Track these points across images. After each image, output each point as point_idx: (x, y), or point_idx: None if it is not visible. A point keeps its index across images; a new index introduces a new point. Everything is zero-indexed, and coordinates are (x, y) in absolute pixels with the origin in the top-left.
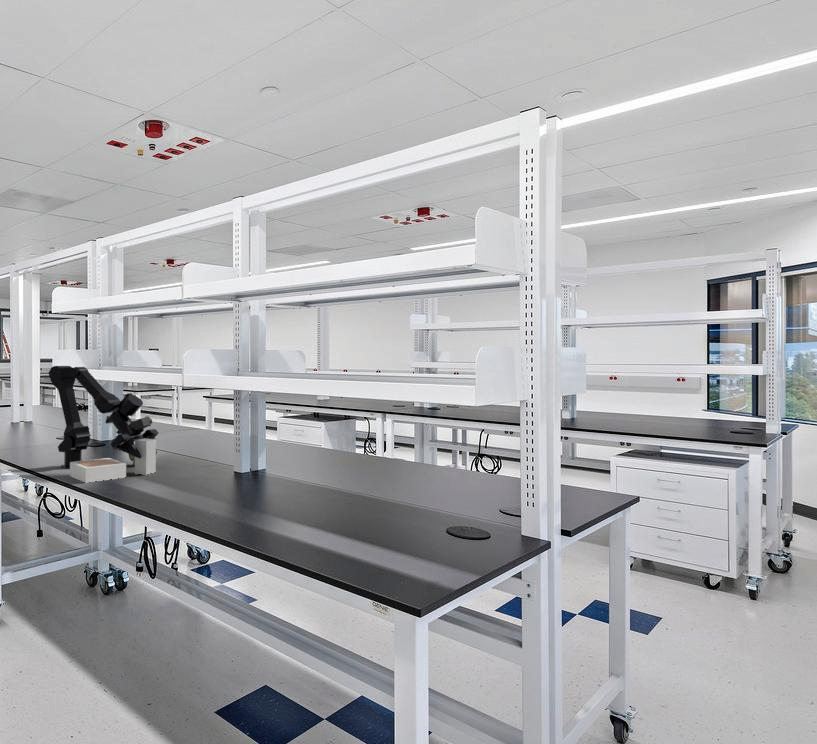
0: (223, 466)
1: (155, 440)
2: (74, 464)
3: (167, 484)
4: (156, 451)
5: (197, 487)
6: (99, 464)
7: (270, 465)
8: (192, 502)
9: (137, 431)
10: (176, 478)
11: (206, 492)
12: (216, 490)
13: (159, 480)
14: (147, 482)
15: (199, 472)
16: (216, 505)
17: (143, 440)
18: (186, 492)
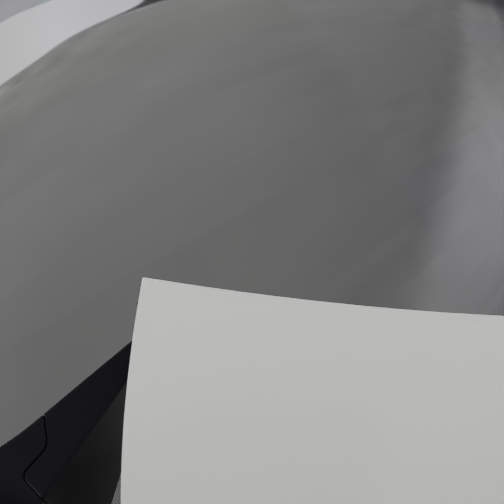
0: (18, 85)
1: (185, 288)
2: None
3: (441, 116)
4: (122, 353)
5: (413, 33)
6: None
7: (35, 4)
8: (496, 40)
9: None
10: (334, 119)
11: (435, 18)
12: (408, 3)
13: (407, 177)
14: (459, 212)
15: (153, 87)
16: (478, 13)
17: (499, 463)
18: (465, 52)
